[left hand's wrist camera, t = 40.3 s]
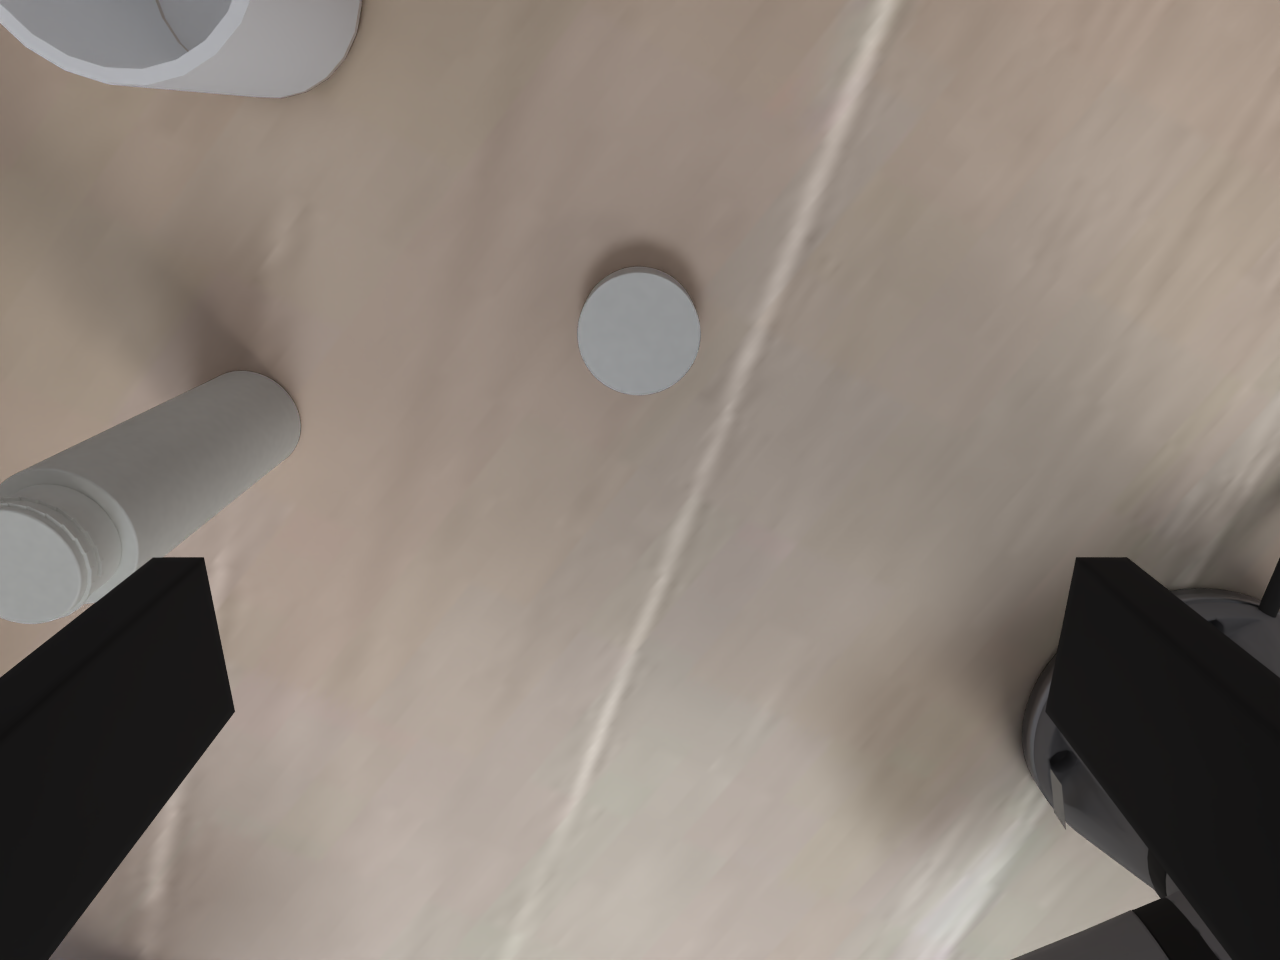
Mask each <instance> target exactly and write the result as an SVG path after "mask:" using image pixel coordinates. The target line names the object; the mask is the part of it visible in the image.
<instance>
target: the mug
mask: <svg viewBox="0 0 1280 960" xmlns="http://www.w3.org/2000/svg"><path fill="white" fill-rule="evenodd" d="M361 6H362V0H0V23H1V24H2V25H3V26H4V27H5V28H6V29H7V30H8V31H9V32H10V33H11V34H12V35H14V36H15V37H16V38H17V39H18V40H19V41H20V42H21V43H22V44H23V45H24V46H25V47H27V48H28V49H30V50H32V51H33V52H35V53H37V54H38V55H40V56H42V57H43V58H45V59H47V60H48V61H50V62H52V63H53V64H55V65H57V66H58V67H60V68H62V69H63V70H65V71H68V72H71V73H74V74H77V75H80V76H84V77H87V78H90V79H93V80H96V81H99V82H103V83H106V84H110V85H120V86H132V87H143V88H155V89H167V90H179V91H190V92H202V93H214V94H225V95H237V96H249V97H260V98H286V97H290V96H293V95H297V94H301V93H305V92H308V91H309V90H311V89H313V88H314V87H316V86H317V85H319V84H320V83H322V82H324V81H325V80H327V79H328V78H329V77H330V76H331V75H332V74H333V73H334V71H335V70H336V69H337V68H338V67H339V66H340V64H341V63H342V62H343V61H344V60H345V59H346V56H347V54H348V52H349V50H350V48H351V45H352V43H353V41H354V39H355V36H356V34H357V30H358V24H359V18H360V12H361Z"/></svg>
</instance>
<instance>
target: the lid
mask: <svg viewBox="0 0 1280 960" xmlns="http://www.w3.org/2000/svg"><path fill="white" fill-rule="evenodd" d="M700 335H701V331H700V322H699V318H698V315H697V312H696V309H695V307H694V304H693V302H692V300H691V298H690V296H689V294H688V293H687V291H686V290H685V288H684V287H683V286H682V285H681V284H680V283H679V282H678V281H677V280H676V279H674V278H673V277H672V276H670V275H668V274H667V273H665V272H662V271H660V270H657V269H654V268H650V267H638V266H636V267H628V268H624V269H620V270H618V271H615V272H613V273H611V274H610V275H608V276H606V277H605V278H604V279H602V280H601V281H600V282H599V283H598V284H597V285H596V286H595V287H594V289H593V290H592V291H591V292H590V294H589V296H588V298H587V300H586V302H585V304H584V307H583V309H582V311H581V314H580V318H579V321H578V329H577V339H578V346H579V350H580V353H581V356H582V358H583V361H584V363H585V364H586V366H587V368H588V369H589V370H590V372H591V373H592V374H593V375H594V376H595V377H596V378H597V379H598V380H599V381H600V382H601V383H603V384H604V385H606V386H607V387H609V388H611V389H613V390H615V391H618V392H621V393H624V394H630V395H649V394H653V393H657V392H660V391H663V390H665V389H667V388H669V387H671V386H672V385H674V384H675V383H677V382H678V381H679V380H680V379H681V378H682V377H683V376H684V375H685V374H686V373H687V372H688V370H689V369H690V367H691V366H692V364H693V362H694V360H695V358H696V356H697V353H698V350H699V345H700Z"/></svg>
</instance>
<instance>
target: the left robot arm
mask: <svg viewBox="0 0 1280 960" xmlns="http://www.w3.org/2000/svg"><path fill="white" fill-rule="evenodd" d="M1279 609H1280V558H1279V561H1278V563H1277V566H1276V568H1275V570H1274V573H1273V575H1272V577H1271V579H1270V582H1269V584H1268V586H1267V589H1266V591H1265V593H1264V596H1263V598H1262V600H1261V601H1260V600H1258V599H1256V598H1253V597H1251V596H1247V595H1244V594H1241V593H1237V592H1232V591H1227V590H1219V589H1196V588H1195V589H1182V590H1175V591H1169V590H1168V589H1167V588H1165V587H1164V586H1163V585H1161V584H1160V583H1159V582H1158V581H1156V580H1155V579H1154V578H1153V577H1151V576H1150V575H1149V574H1147V573H1146V572H1145V571H1144V570H1142V569H1141V568H1140V567H1139V566H1137V565H1136V564H1135V563H1133V562H1132V561H1131V560H1130V559H1128V558H1127V557H1076V561H1075V566H1074V571H1073V576H1072V581H1071V586H1070V591H1069V596H1068V600H1067V605H1066V610H1065V615H1064V620H1063V625H1062V630H1061V635H1060V640H1059V645H1058V650H1057V654H1056V655H1055V656H1054V657H1053V658H1052V660H1051V661H1050V662H1049V663H1048V665H1047V666H1046V668H1045V669H1044V671H1043V672H1042V673H1041V675H1040V677H1039V679H1038V680H1037V682H1036V684H1035V686H1034V688H1033V690H1032V693H1031V695H1030V697H1029V700H1028V703H1027V706H1026V709H1025V714H1024V719H1023V728H1022V745H1023V751H1024V756H1025V760H1026V763H1027V766H1028V769H1029V771H1030V773H1031V775H1032V777H1033V779H1034V780H1035V782H1036V784H1037V785H1038V787H1039V788H1040V790H1041V792H1042V793H1043V795H1044V796H1045V798H1046V799H1047V801H1048V802H1049V803H1050V805H1051V806H1052V807H1053V808H1054V812H1055V814H1056V816H1057V817H1058V819H1059V820H1060V822H1061V823H1062V825H1063V826H1064V828H1065V829H1066V826H1065V821H1066V822H1067V823H1068V825H1070V826H1071V827H1072V828H1073V829H1074V830H1075V831H1076V832H1078V833H1079V834H1080V835H1082V836H1083V837H1084V838H1086V839H1087V840H1088V841H1090V842H1091V843H1092V844H1094V845H1095V846H1096V847H1098V848H1099V849H1100V850H1102V851H1103V852H1104V853H1106V854H1107V855H1108V856H1110V857H1111V858H1112V859H1114V860H1115V861H1116V862H1118V863H1119V864H1120V865H1122V866H1123V867H1124V868H1126V869H1127V870H1128V871H1130V872H1131V873H1133V874H1134V875H1135V876H1137V877H1138V878H1139V879H1141V880H1142V881H1143V882H1145V883H1146V884H1147V885H1149V886H1150V887H1151V888H1153V889H1154V890H1155V891H1156V893H1157V894H1158V895H1159V897H1160V898H1161V899H1159V900H1156V901H1154V902H1151V903H1149V904H1147V905H1144V906H1142V907H1139V908H1137V909H1135V910H1132V911H1131V910H1130V911H1128V912H1126V913H1123V914H1121V915H1119V916H1116V917H1114V918H1112V919H1109V920H1107V921H1105V922H1102V923H1100V924H1098V925H1095V926H1093V927H1091V928H1088V929H1086V930H1084V931H1081V932H1079V933H1076V934H1074V935H1071V936H1069V937H1066V938H1064V939H1061V940H1059V941H1056V942H1054V943H1051V944H1049V945H1046V946H1044V947H1041V948H1039V949H1036V950H1034V951H1032V952H1029V953H1027V954H1024V955H1022V956H1019V957H1017V958H1014V959H1012V960H1280V611H1279ZM234 712H235V710H234V705H233V700H232V695H231V690H230V685H229V680H228V675H227V670H226V665H225V660H224V655H223V650H222V645H221V640H220V635H219V630H218V625H217V620H216V615H215V610H214V605H213V600H212V596H211V591H210V586H209V581H208V576H207V571H206V566H205V561H204V557H153V558H152V559H150V560H149V561H148V562H147V563H145V564H144V565H143V566H141V567H140V568H139V569H138V570H136V571H135V572H134V573H133V574H131V575H130V576H129V577H127V578H126V579H125V580H124V581H122V582H121V583H120V584H119V585H117V586H116V587H115V588H113V589H112V590H111V591H110V592H108V593H107V594H106V595H105V596H103V597H102V598H101V599H100V600H98V601H97V602H96V603H94V604H93V605H92V606H91V607H89V608H88V609H87V610H86V611H84V612H83V613H82V614H80V615H79V616H78V617H77V618H75V619H74V620H73V621H72V622H70V623H69V624H68V625H66V626H65V627H64V628H63V629H61V630H60V631H59V632H58V633H56V634H55V635H54V636H53V637H51V638H50V639H49V640H47V641H46V642H45V643H44V644H42V645H41V646H40V647H39V648H37V649H36V650H35V651H33V652H32V653H31V654H30V655H28V656H27V657H26V658H25V659H23V660H22V661H21V662H20V663H18V664H17V665H16V666H14V667H13V668H12V669H11V670H9V671H8V672H7V673H6V674H4V675H3V676H2V677H0V960H48V959H49V958H50V956H51V955H52V954H53V952H54V951H55V950H56V948H57V947H58V946H59V944H60V943H61V942H62V940H63V939H64V938H65V936H66V935H67V934H68V932H69V931H70V930H71V928H72V927H73V926H74V924H75V923H76V922H77V920H78V919H79V918H80V916H81V915H82V914H83V913H84V911H85V910H86V909H87V907H88V906H89V905H90V903H91V902H92V901H93V899H94V898H95V897H96V895H97V894H98V893H99V891H100V890H101V889H102V887H103V886H104V885H105V883H106V882H107V881H108V879H109V878H110V877H111V875H112V874H113V873H114V871H115V870H116V869H117V867H118V866H119V865H120V863H121V862H122V861H123V859H124V858H125V857H126V855H127V854H128V853H129V851H130V850H131V849H132V847H133V846H134V845H135V843H136V842H137V841H138V840H139V838H140V837H141V836H142V834H143V833H144V832H145V830H146V829H147V828H148V826H149V825H150V824H151V822H152V821H153V820H154V818H155V817H156V816H157V814H158V813H159V812H160V810H161V809H162V808H163V806H164V805H165V804H166V802H167V801H168V800H169V798H170V797H171V796H172V794H173V793H174V792H175V790H176V789H177V788H178V786H179V785H180V784H181V782H182V781H183V780H184V778H185V777H186V776H187V774H188V773H189V772H190V771H191V769H192V768H193V767H194V765H195V764H196V763H197V761H198V760H199V759H200V757H201V756H202V755H203V753H204V752H205V751H206V749H207V748H208V747H209V745H210V744H211V743H212V741H213V740H214V739H215V737H216V736H217V735H218V733H219V732H220V731H221V729H222V728H223V727H224V725H225V724H226V723H227V721H228V720H229V719H230V717H231V716H232V715H233V713H234Z"/></svg>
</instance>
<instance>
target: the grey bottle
mask: <svg viewBox="0 0 1280 960" xmlns="http://www.w3.org/2000/svg"><path fill="white" fill-rule="evenodd" d="M300 431H301V423H300V417H299V413H298V410H297V407H296V405H295V403H294V401H293V400H292V398H291V397H290V395H289V394H288V393H287V392H286V391H285V390H284V388H282V387H281V386H280V385H279V384H278V383H276V382H275V381H273V380H272V379H270V378H268V377H266V376H264V375H261V374H259V373H255V372H250V371H232V372H229V373H225V374H223V375H220V376H218V377H216V378H214V379H212V380H210V381H208V382H206V383H204V384H202V385H200V386H197V387H195V388H193V389H191V390H189V391H187V392H185V393H183V394H181V395H179V396H177V397H175V398H172V399H170V400H168V401H166V402H164V403H162V404H160V405H158V406H156V407H154V408H152V409H150V410H147V411H145V412H143V413H141V414H139V415H137V416H135V417H133V418H131V419H129V420H127V421H125V422H123V423H120V424H118V425H116V426H114V427H112V428H110V429H108V430H106V431H104V432H102V433H100V434H98V435H95V436H93V437H91V438H89V439H87V440H85V441H83V442H81V443H79V444H77V445H75V446H73V447H70V448H68V449H66V450H64V451H62V452H60V453H58V454H56V455H54V456H52V457H50V458H48V459H45V460H43V461H41V462H39V463H37V464H35V465H33V466H31V467H29V468H27V469H25V470H23V471H20V472H18V473H16V474H14V475H13V476H11V477H9V478H8V479H6V480H5V481H4V482H3V483H1V484H0V618H3V619H5V620H8V621H12V622H16V623H23V624H39V623H45V622H50V621H53V620H56V619H59V618H62V617H65V616H68V615H70V614H71V613H73V612H74V611H76V610H77V609H79V608H80V607H82V606H83V604H88V603H95V602H97V601H98V600H100V599H101V598H102V597H103V596H105V595H106V594H107V593H108V592H110V591H111V590H112V589H113V588H115V587H116V586H117V585H119V584H120V583H121V582H122V581H124V580H125V579H126V578H127V577H129V576H130V575H131V574H133V573H134V572H135V571H136V570H138V569H139V568H140V567H141V566H143V565H144V564H145V563H147V562H148V561H149V560H150V559H152V558H153V557H164V556H165V555H166V554H168V553H169V552H170V551H171V550H173V549H174V548H175V547H176V546H177V545H179V544H180V543H181V542H182V541H184V540H185V539H186V538H187V537H189V536H190V535H191V534H192V533H194V532H195V531H196V530H197V529H199V528H200V527H201V526H202V525H204V524H205V523H206V522H207V521H209V520H210V519H211V518H212V517H214V516H215V515H216V514H217V513H219V512H220V511H221V510H222V509H224V508H225V507H226V506H227V505H229V504H230V503H231V502H232V501H234V500H235V499H236V498H237V497H238V496H240V495H241V494H242V493H243V492H245V491H246V490H247V489H248V488H250V487H251V486H252V485H253V484H255V483H256V482H257V481H258V480H260V479H261V478H262V477H263V476H265V475H266V474H267V473H268V472H270V471H271V470H272V469H273V468H275V467H276V466H277V465H278V464H280V463H281V462H282V461H283V460H285V459H286V458H287V457H288V456H289V455H290V454H291V453H292V452H293V450H294V449H295V447H296V445H297V443H298V440H299V437H300Z"/></svg>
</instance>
